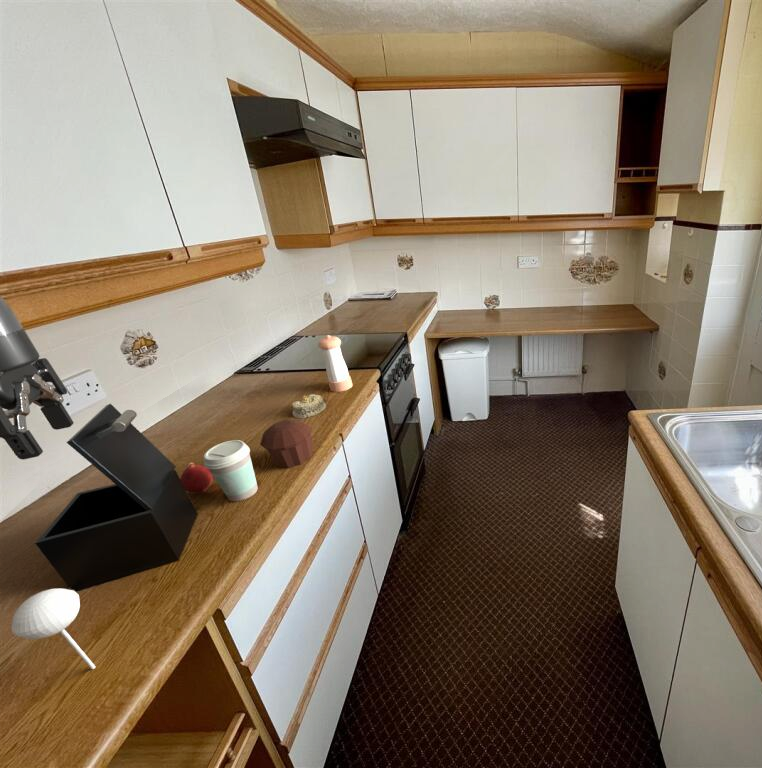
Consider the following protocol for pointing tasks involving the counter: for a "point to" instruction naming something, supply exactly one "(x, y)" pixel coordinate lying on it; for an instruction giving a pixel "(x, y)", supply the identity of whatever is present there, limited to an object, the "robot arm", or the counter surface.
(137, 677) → the counter surface
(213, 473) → the coffee cup
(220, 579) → the counter surface
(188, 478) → the onion
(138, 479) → the bin lid
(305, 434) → the muffin
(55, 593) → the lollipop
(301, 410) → the cake
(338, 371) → the pepper shaker
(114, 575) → the bin
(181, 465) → the counter surface
